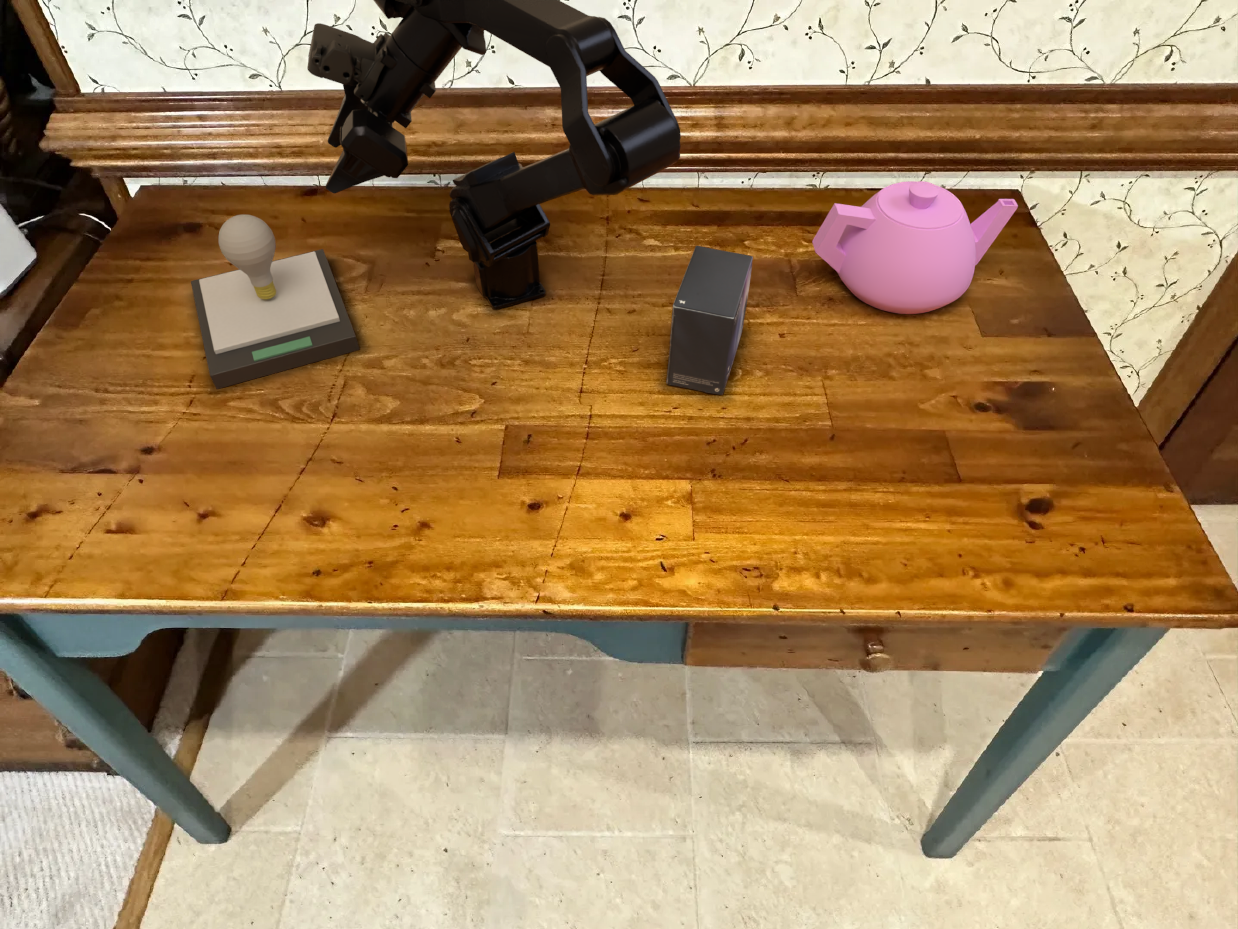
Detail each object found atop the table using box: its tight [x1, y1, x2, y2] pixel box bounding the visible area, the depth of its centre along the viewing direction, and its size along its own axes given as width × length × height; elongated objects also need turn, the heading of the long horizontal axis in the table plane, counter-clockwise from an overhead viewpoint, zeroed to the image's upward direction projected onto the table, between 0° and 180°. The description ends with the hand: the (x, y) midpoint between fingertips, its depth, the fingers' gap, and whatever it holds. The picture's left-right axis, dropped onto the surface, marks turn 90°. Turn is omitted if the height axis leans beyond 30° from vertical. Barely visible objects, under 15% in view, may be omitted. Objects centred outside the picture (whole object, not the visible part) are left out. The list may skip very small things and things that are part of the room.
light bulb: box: [217, 214, 277, 299], centre depth 93 cm, size 5×6×10 cm
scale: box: [190, 248, 360, 390], centre depth 97 cm, size 15×17×3 cm
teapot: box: [811, 180, 1019, 315], centre depth 98 cm, size 22×16×12 cm
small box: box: [665, 245, 754, 396], centre depth 90 cm, size 11×6×10 cm, turn 164°
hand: (330, 166), depth 94 cm, fingers open, 9 cm apart
